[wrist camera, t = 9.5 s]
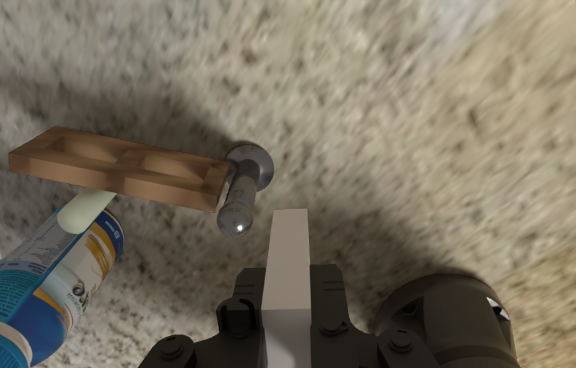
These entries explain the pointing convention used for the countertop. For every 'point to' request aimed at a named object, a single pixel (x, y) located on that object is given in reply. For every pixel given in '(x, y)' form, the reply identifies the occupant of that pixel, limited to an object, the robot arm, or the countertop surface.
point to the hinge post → (243, 188)
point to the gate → (122, 168)
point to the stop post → (83, 209)
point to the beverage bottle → (52, 286)
